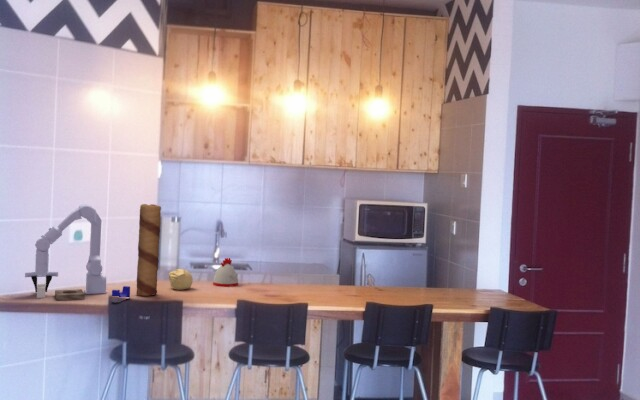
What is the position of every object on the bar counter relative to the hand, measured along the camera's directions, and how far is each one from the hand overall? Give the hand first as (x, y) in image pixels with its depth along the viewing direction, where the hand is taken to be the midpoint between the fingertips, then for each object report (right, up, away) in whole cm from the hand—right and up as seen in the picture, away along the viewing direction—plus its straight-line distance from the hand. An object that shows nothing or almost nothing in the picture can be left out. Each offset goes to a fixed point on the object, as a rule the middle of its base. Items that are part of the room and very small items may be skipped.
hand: (41, 291), depth 309 cm
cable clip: (+39, -4, -5) cm, 40 cm away
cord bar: (0, -2, 0) cm, 2 cm away
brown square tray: (+15, -2, -3) cm, 15 cm away
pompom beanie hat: (+81, -4, +51) cm, 96 cm away
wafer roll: (+47, -3, +12) cm, 49 cm away
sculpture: (+60, -3, +32) cm, 68 cm away
